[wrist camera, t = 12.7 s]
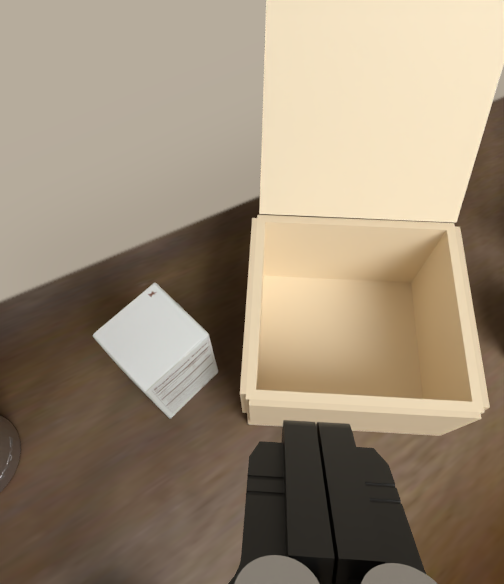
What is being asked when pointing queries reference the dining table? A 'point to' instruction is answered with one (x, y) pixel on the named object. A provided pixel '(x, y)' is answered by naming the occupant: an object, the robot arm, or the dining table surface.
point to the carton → (360, 326)
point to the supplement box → (160, 349)
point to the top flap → (376, 105)
